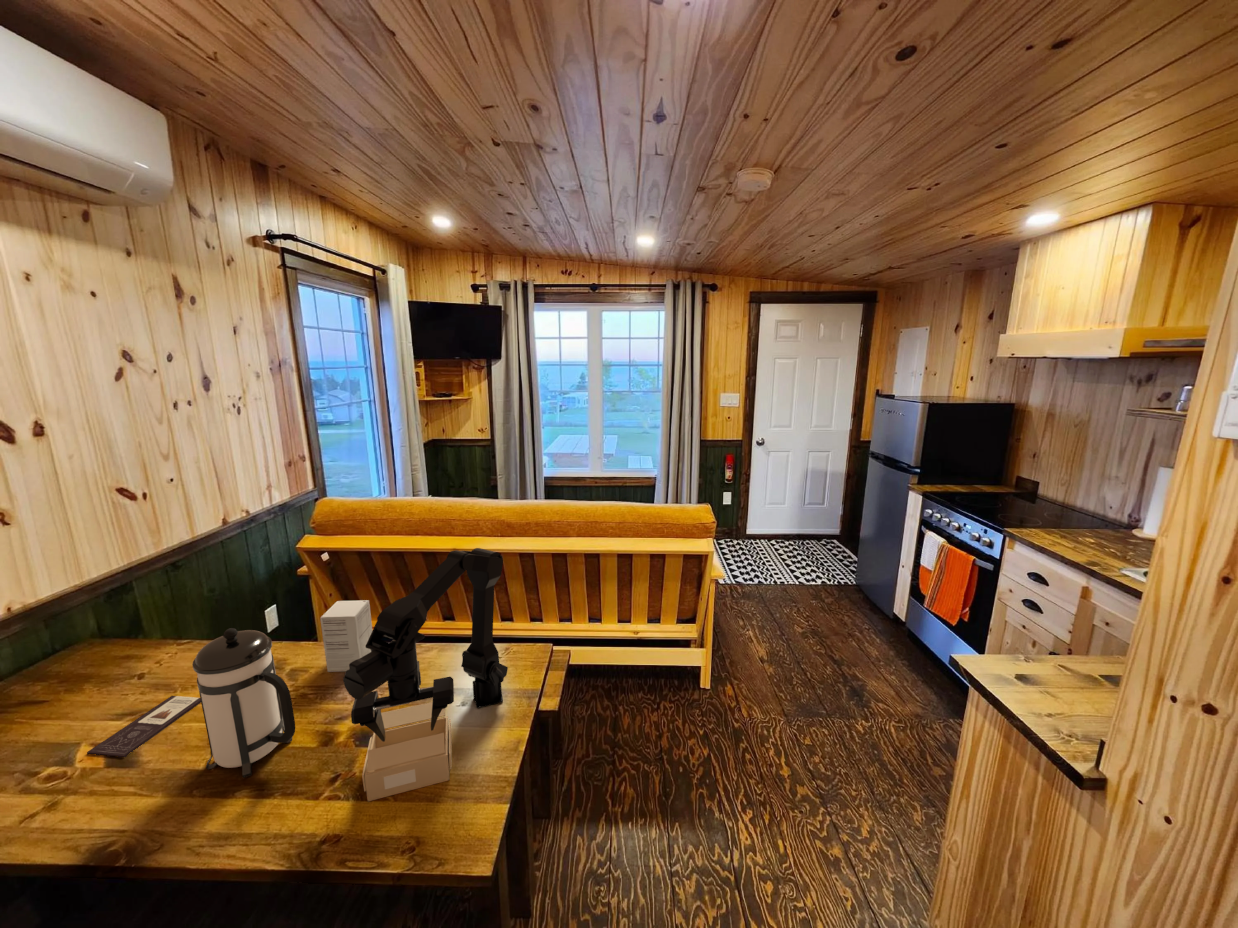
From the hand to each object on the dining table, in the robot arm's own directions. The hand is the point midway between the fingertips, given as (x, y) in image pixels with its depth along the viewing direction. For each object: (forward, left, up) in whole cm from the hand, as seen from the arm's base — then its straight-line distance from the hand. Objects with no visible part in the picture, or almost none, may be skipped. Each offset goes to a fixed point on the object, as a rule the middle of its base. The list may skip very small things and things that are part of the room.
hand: (408, 734), depth 97 cm
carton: (0, 0, -8) cm, 8 cm away
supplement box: (+19, -45, -8) cm, 49 cm away
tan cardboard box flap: (0, -7, -1) cm, 7 cm away
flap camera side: (0, +4, 0) cm, 4 cm away
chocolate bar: (+59, -33, -9) cm, 68 cm away
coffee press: (+32, -15, -8) cm, 36 cm away
